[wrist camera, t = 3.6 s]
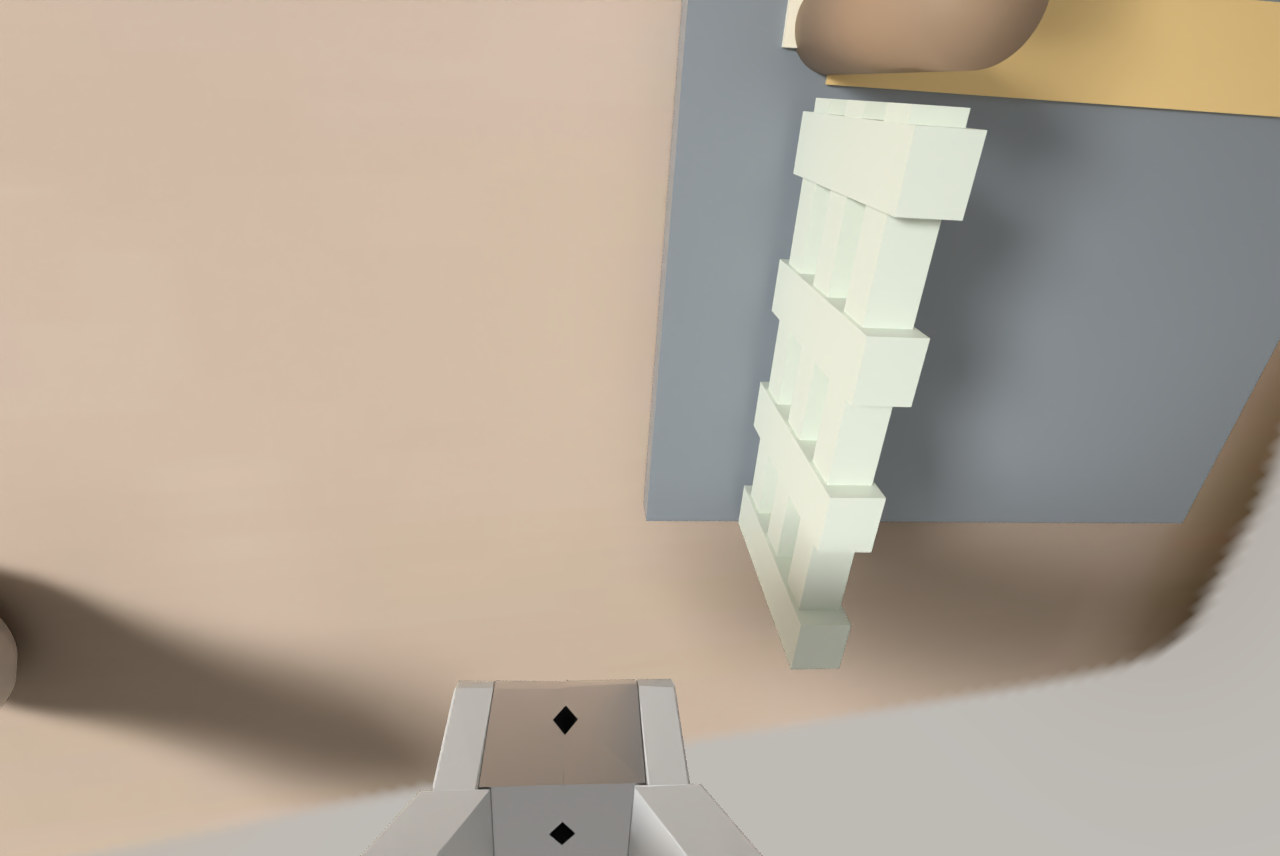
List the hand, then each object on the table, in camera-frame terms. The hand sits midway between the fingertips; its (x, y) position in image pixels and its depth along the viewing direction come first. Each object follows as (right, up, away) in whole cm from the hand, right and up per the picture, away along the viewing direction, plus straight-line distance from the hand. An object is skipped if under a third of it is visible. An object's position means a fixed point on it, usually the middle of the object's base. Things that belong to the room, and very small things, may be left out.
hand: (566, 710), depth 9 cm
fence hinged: (+5, +6, +9) cm, 12 cm away
